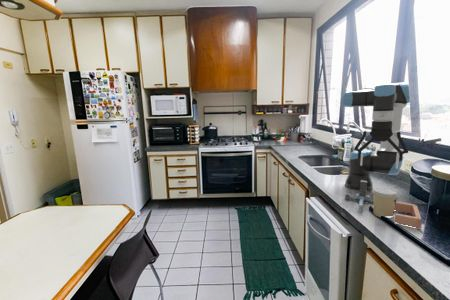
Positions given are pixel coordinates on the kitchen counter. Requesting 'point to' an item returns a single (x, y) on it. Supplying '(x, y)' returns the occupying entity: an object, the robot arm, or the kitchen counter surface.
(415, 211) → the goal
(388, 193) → the coffee cup
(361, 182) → the pusher
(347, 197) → the rail
